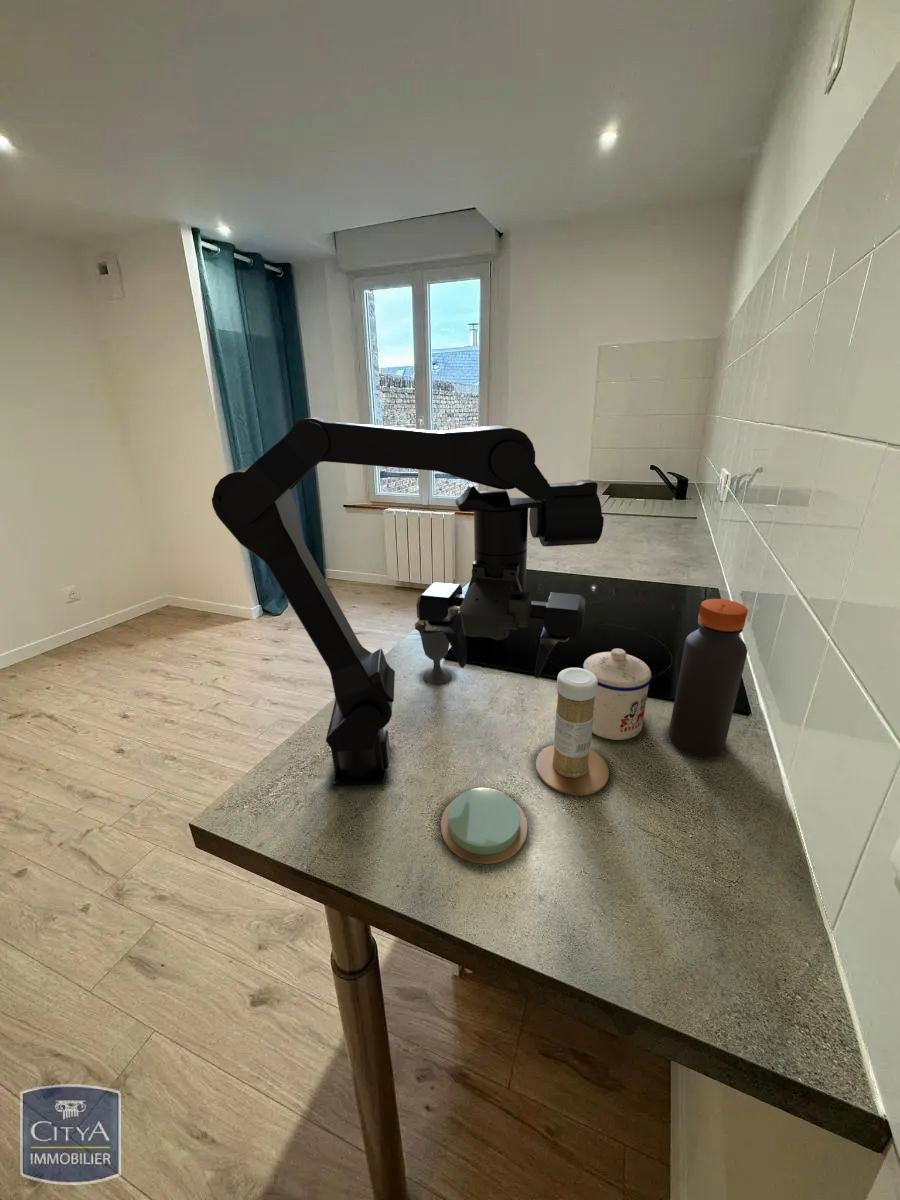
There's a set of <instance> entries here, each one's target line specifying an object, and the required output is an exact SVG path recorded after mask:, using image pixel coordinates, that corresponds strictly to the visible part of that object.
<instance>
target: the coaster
mask: <svg viewBox="0 0 900 1200" xmlns="http://www.w3.org/2000/svg"><path fill="white" fill-rule="evenodd" d="M553 757H554V744H551V745H548V746H546V747H545V748H543V749H542V750H541V751H540V752H539V753H538V754H537V757H536V759H535V769H536V772H537V773H536V774H538V776H539V778H540V779H541V781H542V782H543V783H544V784H546V785H547V786H548V787H550V788H551V789H552V790H555V791H557V792H560V793H562V794H565V795H569V796H570V795H571V796H589V795H593V794H595V793H598V792H599V791H601V790H602V789H603V788H604V787H605V786H606V785H607V783H608V781H609V776H610V771H609V767H608V765H607V763H606V761H605V760H604V759H603V758H602V756H601V755H600V754H598V753H597V752H596V751H594V750H593V749H591V748H590V751H589V758H588V765H589V768H588V771H587V773H586V774H585V775H583V776H581V777H578V778H569V777H565V776H563V775H561V774H559V773H558V772H557V771H556V770H555V769H554V767H553V763H552V761H553Z"/></svg>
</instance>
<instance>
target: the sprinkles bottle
mask: <svg viewBox="0 0 900 1200" xmlns="http://www.w3.org/2000/svg"><path fill="white" fill-rule="evenodd" d="M597 685H598V680H597V677H596V676H595V675H594V674H593V673H592V672H590V671H588V670H586V669H582V668H581V667H567V668H565V669H562V670H561V671H559V672H558V674H557V678H556V691H557V701H556V709H555V722H554V736H553V738H554V739H553V745H554V757H553V761H552V763H553V767H554V769H555V770H556V771H557V772H558V773H559V774H561V775H563V776H565V777H569V778H578V777H581V776H583V775H585V774H586V773H587V771H588V768H589V765H588V758H589V751H590V749H591V745H592V737H593V736H592V735H593V733H592V728H593V718H594V714H593V711H594V699H595V696H596V694H597Z"/></svg>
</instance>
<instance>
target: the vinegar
mask: <svg viewBox="0 0 900 1200" xmlns="http://www.w3.org/2000/svg"><path fill="white" fill-rule="evenodd" d="M748 610H749V609H748V608H747V607H746V606H745V605H744V604H741V603H739V602H737V601H734V600H730V599H724V598H707V599H705V600H702V601H701V602H700V607H699V613H698V617H697V625H698V626H699V627H698V628H697V629H695V630H694V631H692V632H690V633H689V634H688V635H687V636H686V637H685V640H684V646H683V653H682V658H681V664H680V668H679V674H678V680H677V684H676V690H675V696H674V701H673V706H672V710H671V717H670V722H669V727H668V737H669V739H670V740H671V742H672V743H673V744H674V745H675V747H677V748H679V749H680V750H682V751H683V752H686V753H688V754H690V755H692V756H693V755H694V756H696V757H697V756H698V757H714V756H715V757H716V756H718V755H719V754H721V753H723V751H724V749H725V746H726V742H727V738H728V734H729V731H730V726H731V722H732V717H733V714H734V709H735V705H736V701H737V697H738V693H739V689H740V685H741V681H742V676H743V672H744V669H745V664H746V660H747V656H748V647H747V644H746V643H745V642H744V640H743V639H742V638H741V637H740V634H741V633H742V632H743V630H744V628H745V624H746V620H747V615H748Z"/></svg>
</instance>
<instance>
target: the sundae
mask: <svg viewBox="0 0 900 1200" xmlns="http://www.w3.org/2000/svg"><path fill="white" fill-rule="evenodd" d="M414 629H415V630H416V631H418V633H419V635H420V641H421V644H422V649H423V652H424V655H425V656H426V657H427V658H428V659H430V660H431V661H433V666H432V668H431V669H428V670H427V671H425V672H424V673H423V675H422V679H423V681H424V682H426V683H427V684H430V685H443V684H446V683H448V682H449V681H450V680H451V679H452V677H453V674H452V673H451V671H449V670H448V669H445V668H442V667H441V660H443V659H444V658H445V657H446V656H447V655H448V654H449V648H450V643H449V641H448V639H447V637H446V636H445V634H444V633H443V631H441V630H440V629H438V628H437V627H433V626H430V625H429V624H428V621H426V620H419V619H418V620H417V621H416V622H415V623H414Z"/></svg>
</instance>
